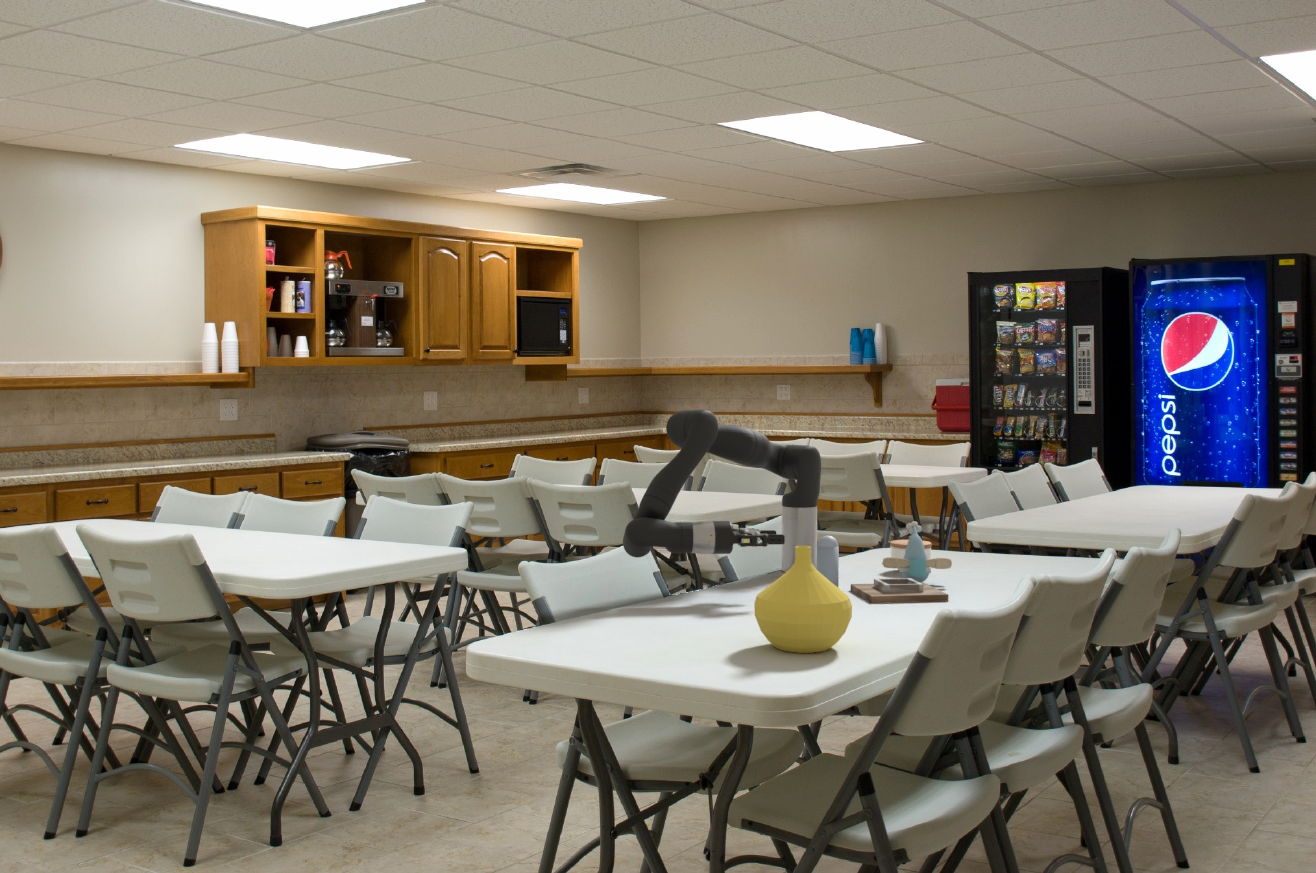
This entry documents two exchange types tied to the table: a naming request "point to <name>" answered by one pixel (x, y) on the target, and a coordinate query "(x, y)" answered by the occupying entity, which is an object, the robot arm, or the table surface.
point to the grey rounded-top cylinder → (828, 558)
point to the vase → (803, 608)
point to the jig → (898, 591)
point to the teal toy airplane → (916, 558)
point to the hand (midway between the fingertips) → (780, 537)
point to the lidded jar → (901, 545)
